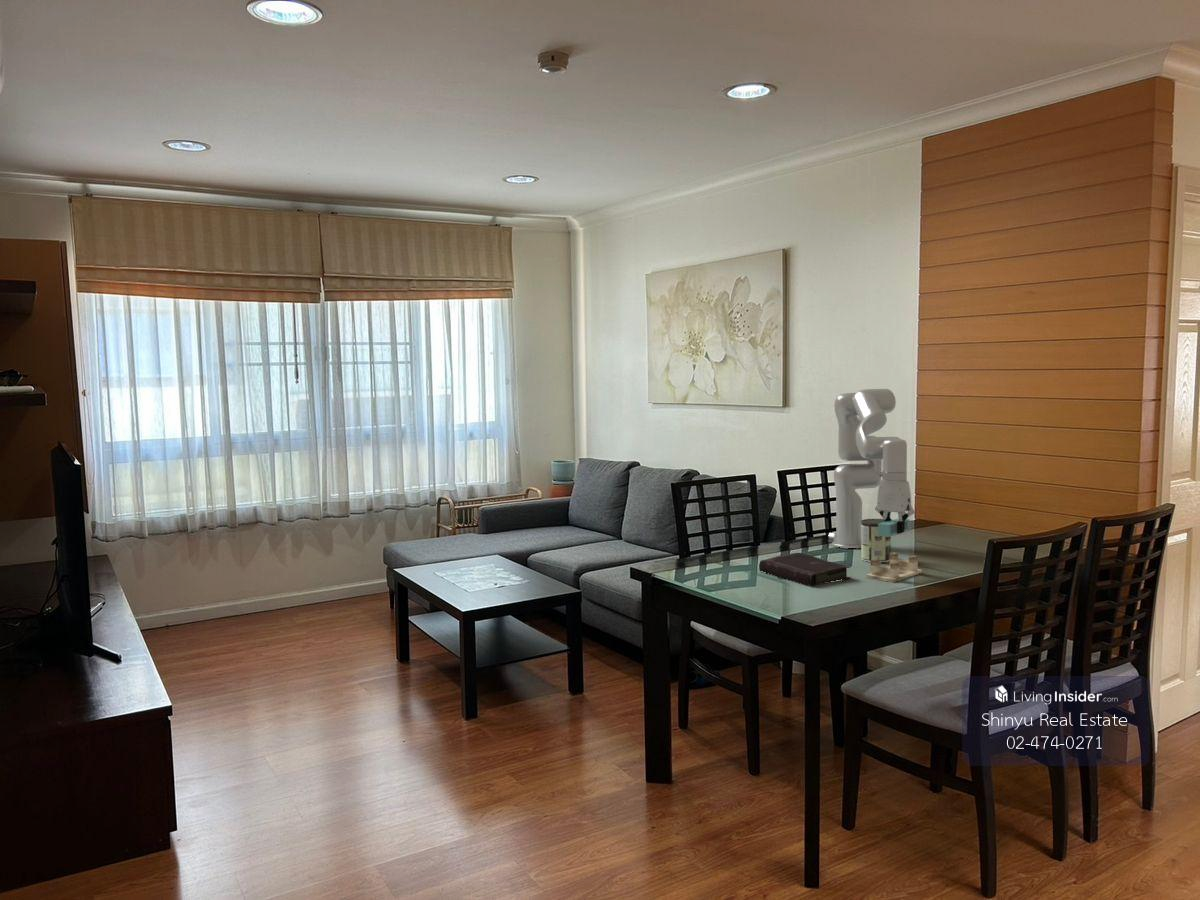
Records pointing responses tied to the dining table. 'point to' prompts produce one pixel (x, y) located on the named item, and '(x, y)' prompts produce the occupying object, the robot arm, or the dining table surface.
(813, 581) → the diary
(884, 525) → the teal rectangular block
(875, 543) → the coffee can
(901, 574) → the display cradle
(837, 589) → the dining table surface
